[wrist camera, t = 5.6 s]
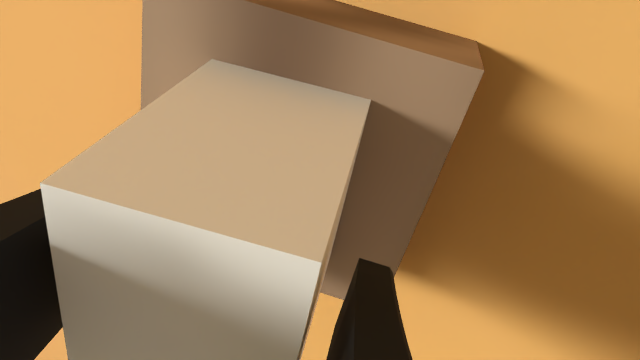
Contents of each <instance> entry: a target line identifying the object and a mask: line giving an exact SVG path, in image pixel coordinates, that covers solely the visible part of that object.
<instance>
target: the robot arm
mask: <svg viewBox="0 0 640 360" xmlns="http://www.w3.org/2000/svg"><path fill="white" fill-rule="evenodd" d="M62 327H63V324H62V318H61V312H60V305H59V299H58V293H57V287H56V280H55V274H54V268H53V262H52V256H51V249H50V243H49V237H48V231H47V224H46V218H45V212H44V206H43V199H42V193H41V189H39V190H36V191H34V192H31V193H29V194H26V195H23V196H21V197H18V198H16V199H13V200H10V201H8V202H5V203H2V204H0V360H34V359H35V358H36V357H37V356H38V355H39V353H40V352H41V351H42V350H43V349H44V348H45V347H46V345H47V344H48V343H49V342H50V341H51V340H52V339H53V337H54V336H55V335H56V334H57V333H58V332H59V331H60V329H61V328H62ZM327 360H412V356H411V353H410V350H409V346H408V343H407V339H406V335H405V331H404V327H403V323H402V319H401V314H400V310H399V305H398V300H397V295H396V289H395V283H394V276H393V272H392V270H391V269H390V267H388V266H385V265H381V264H378V263H375V262H372V261H368V260H365V259H362V258H359V260H358V263H357V266H356V268H355V271H354V274H353V277H352V280H351V282H350V285H349V288H348V291H347V294H346V297H345V299H344V302H343V305H342V308H341V311H340V313H339V316H338V319H337V322H336V325H335V328H334V332H333V336H332V340H331V344H330V348H329V352H328V356H327Z"/></svg>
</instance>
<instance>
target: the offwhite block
mask: <svg viewBox="0 0 640 360" xmlns="http://www.w3.org/2000/svg"><path fill="white" fill-rule="evenodd" d="M370 102H371V100H370V99H366V98H362V97H358V96H354V95H350V94H346V93H343V92H339V91H335V90H331V89H327V88H323V87H319V86H315V85H311V84H308V83H304V82H300V81H296V80H292V79H288V78H284V77H280V76H276V75H272V74H269V73H265V72H261V71H257V70H253V69H249V68H245V67H241V66H237V65H233V64H230V63H226V62H222V61H218V60H214V59H211V60H210V61H208V62H207V63H206V64H204V65H203V66H201V67H200V68H199V69H197V70H196V71H195V72H193V73H192V74H190V75H189V76H188V77H186V78H185V79H183V80H182V81H181V82H179V83H178V84H176V85H175V86H174V87H172V88H171V89H170V90H168V91H167V92H165V93H164V94H163V95H161V96H160V97H158V98H157V99H156V100H154V101H153V102H152V103H150V104H149V105H147V106H146V107H145V108H143V109H142V110H140V111H139V112H138V113H136V114H135V115H133V116H132V117H131V118H129V119H128V120H127V121H125V122H124V123H122V124H121V125H120V126H118V127H117V128H115V129H114V130H113V131H111V132H110V133H108V134H107V135H106V136H104V137H103V138H102V139H100V140H99V141H97V142H96V143H95V144H93V145H92V146H90V147H89V148H88V149H86V150H85V151H83V152H82V153H81V154H79V155H78V156H77V157H75V158H74V159H72V160H71V161H70V162H68V163H67V164H65V165H64V166H63V167H61V168H60V169H58V170H57V171H56V172H54V173H53V174H52V175H50V176H49V177H47V178H46V179H45V180H43V181H42V182H40V187H41V193H42V199H43V206H44V212H45V218H46V224H47V231H48V237H49V243H50V249H51V256H52V262H53V268H54V274H55V280H56V287H57V293H58V299H59V305H60V312H61V318H62V324H63V330H64V337H65V343H66V349H67V355H68V360H301V357H302V353H303V350H304V346H305V343H306V339H307V336H308V332H309V329H310V325H311V322H312V318H313V315H314V311H315V308H316V304H317V301H318V297H319V294H320V290H321V287H322V283H323V280H324V276H325V273H326V269H327V266H328V262H329V259H330V255H331V251H332V247H333V244H334V240H335V236H336V232H337V228H338V224H339V221H340V217H341V213H342V209H343V205H344V202H345V198H346V194H347V190H348V186H349V182H350V179H351V175H352V171H353V167H354V163H355V159H356V156H357V152H358V148H359V144H360V140H361V137H362V133H363V129H364V125H365V121H366V117H367V114H368V110H369V106H370Z"/></svg>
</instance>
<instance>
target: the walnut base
mask: <svg viewBox="0 0 640 360" xmlns="http://www.w3.org/2000/svg"><path fill="white" fill-rule="evenodd" d="M211 59H214V60H218V61H222V62H226V63H230V64H233V65H237V66H241V67H245V68H249V69H253V70H257V71H261V72H265V73H269V74H272V75H276V76H280V77H284V78H288V79H292V80H296V81H300V82H304V83H308V84H311V85H315V86H319V87H323V88H327V89H331V90H335V91H339V92H343V93H346V94H350V95H354V96H358V97H362V98H366V99H370V100H371V102H370V106H369V110H368V114H367V117H366V121H365V125H364V129H363V133H362V137H361V140H360V144H359V148H358V152H357V156H356V159H355V163H354V167H353V171H352V175H351V179H350V182H349V186H348V190H347V194H346V198H345V202H344V205H343V209H342V213H341V217H340V221H339V224H338V228H337V232H336V236H335V240H334V244H333V247H332V251H331V255H330V259H329V262H328V266H327V269H326V273H325V276H324V280H323V283H322V287H321V290H320V292H321V293H324V294H327V295H330V296H333V297H336V298H339V299H342V300H344V299H345V297H346V294H347V291H348V288H349V285H350V282H351V280H352V277H353V274H354V271H355V268H356V266H357V263H358V260H359V258H362V259H365V260H368V261H372V262H375V263H378V264H381V265H385V266H388V267H390V269H391V270H392V272H393V276H395V274H396V271H397V269H398V267H399V265H400V262H401V260H402V258H403V255H404V253H405V251H406V249H407V246H408V244H409V242H410V239H411V237H412V235H413V233H414V230H415V228H416V226H417V224H418V221H419V219H420V217H421V214H422V212H423V210H424V208H425V205H426V203H427V201H428V198H429V196H430V194H431V192H432V189H433V187H434V185H435V182H436V180H437V178H438V176H439V173H440V171H441V169H442V167H443V164H444V162H445V160H446V157H447V155H448V153H449V151H450V148H451V146H452V144H453V141H454V139H455V137H456V135H457V132H458V130H459V128H460V126H461V123H462V121H463V119H464V116H465V114H466V112H467V110H468V107H469V105H470V103H471V100H472V98H473V96H474V94H475V91H476V89H477V87H478V84H479V82H480V80H481V78H482V75H483V73H484V71H485V70H484V67H483V63H482V59H481V56H480V52H479V48H478V44H477V41H474V40H470V39H467V38H463V37H460V36H456V35H453V34H449V33H446V32H443V31H439V30H436V29H432V28H429V27H425V26H422V25H418V24H415V23H411V22H408V21H404V20H401V19H397V18H394V17H391V16H387V15H384V14H380V13H377V12H373V11H370V10H366V9H363V8H359V7H356V6H352V5H349V4H345V3H342V2H339V1H335V0H143V14H142V75H141V110H142V109H143V108H145V107H146V106H147V105H149V104H150V103H152V102H153V101H154V100H156V99H157V98H158V97H160V96H161V95H163V94H164V93H165V92H167V91H168V90H170V89H171V88H172V87H174V86H175V85H176V84H178V83H179V82H181V81H182V80H183V79H185V78H186V77H188V76H189V75H190V74H192V73H193V72H195V71H196V70H197V69H199V68H200V67H201V66H203V65H204V64H206V63H207V62H208V61H210V60H211Z"/></svg>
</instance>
